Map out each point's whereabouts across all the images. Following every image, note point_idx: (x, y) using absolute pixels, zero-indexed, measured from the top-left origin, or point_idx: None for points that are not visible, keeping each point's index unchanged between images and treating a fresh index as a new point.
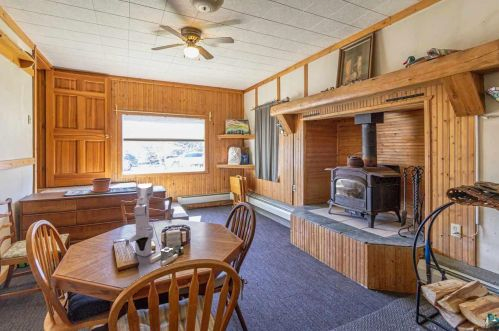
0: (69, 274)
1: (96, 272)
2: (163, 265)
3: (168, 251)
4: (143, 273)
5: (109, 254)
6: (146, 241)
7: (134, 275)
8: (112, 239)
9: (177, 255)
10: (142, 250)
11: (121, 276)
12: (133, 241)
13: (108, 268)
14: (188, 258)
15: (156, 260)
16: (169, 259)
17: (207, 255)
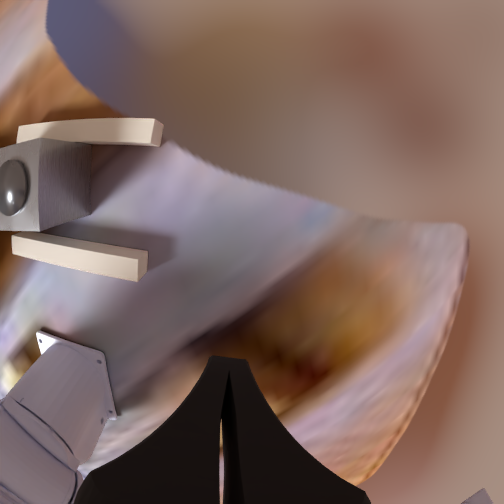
0: (363, 469)
1: (348, 434)
2: (163, 126)
3: (34, 140)
4: (327, 203)
5: None
6: (154, 448)
7: (365, 249)
8: None
9: (25, 126)
10: (248, 364)
11: (384, 317)
12: (473, 502)
13: (305, 429)
14: (41, 58)
15: (106, 244)
16: (90, 119)
17: (18, 15)
